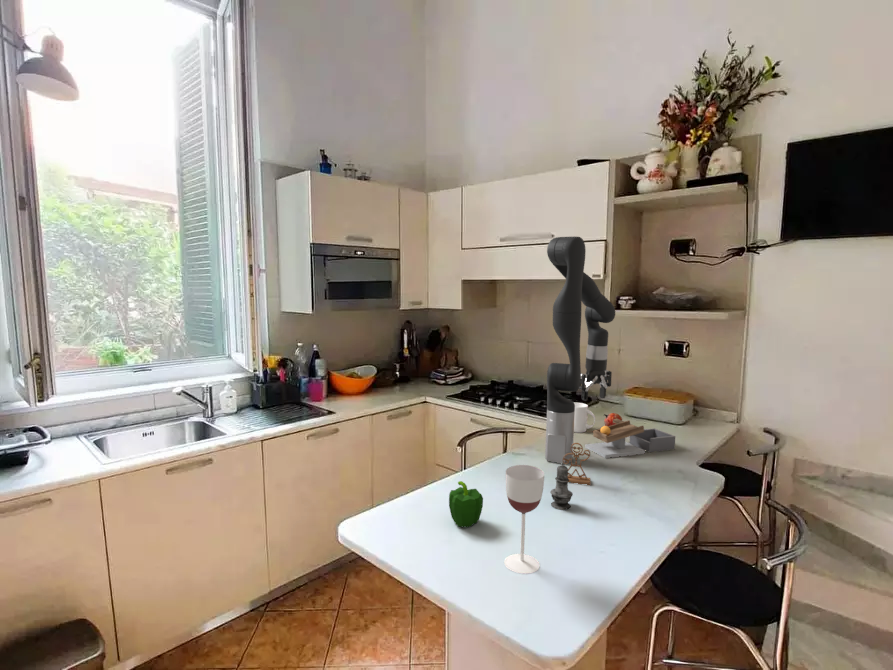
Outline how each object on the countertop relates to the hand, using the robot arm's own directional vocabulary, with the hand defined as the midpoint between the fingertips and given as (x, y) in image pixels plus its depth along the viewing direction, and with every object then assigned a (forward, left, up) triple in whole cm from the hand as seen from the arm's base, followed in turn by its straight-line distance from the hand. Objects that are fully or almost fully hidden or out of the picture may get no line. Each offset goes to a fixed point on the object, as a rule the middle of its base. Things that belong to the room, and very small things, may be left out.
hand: (593, 399), depth 182 cm
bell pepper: (-78, +17, -18) cm, 82 cm away
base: (-2, -9, -18) cm, 20 cm away
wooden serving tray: (+1, -7, -12) cm, 14 cm away
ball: (-5, -5, -10) cm, 13 cm away
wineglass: (-89, -1, -18) cm, 91 cm away
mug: (+17, +8, -18) cm, 26 cm away
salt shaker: (-57, -2, -18) cm, 60 cm away
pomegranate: (+26, -5, -18) cm, 32 cm away
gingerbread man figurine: (-38, -2, -18) cm, 42 cm away
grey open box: (+10, -20, -18) cm, 29 cm away
